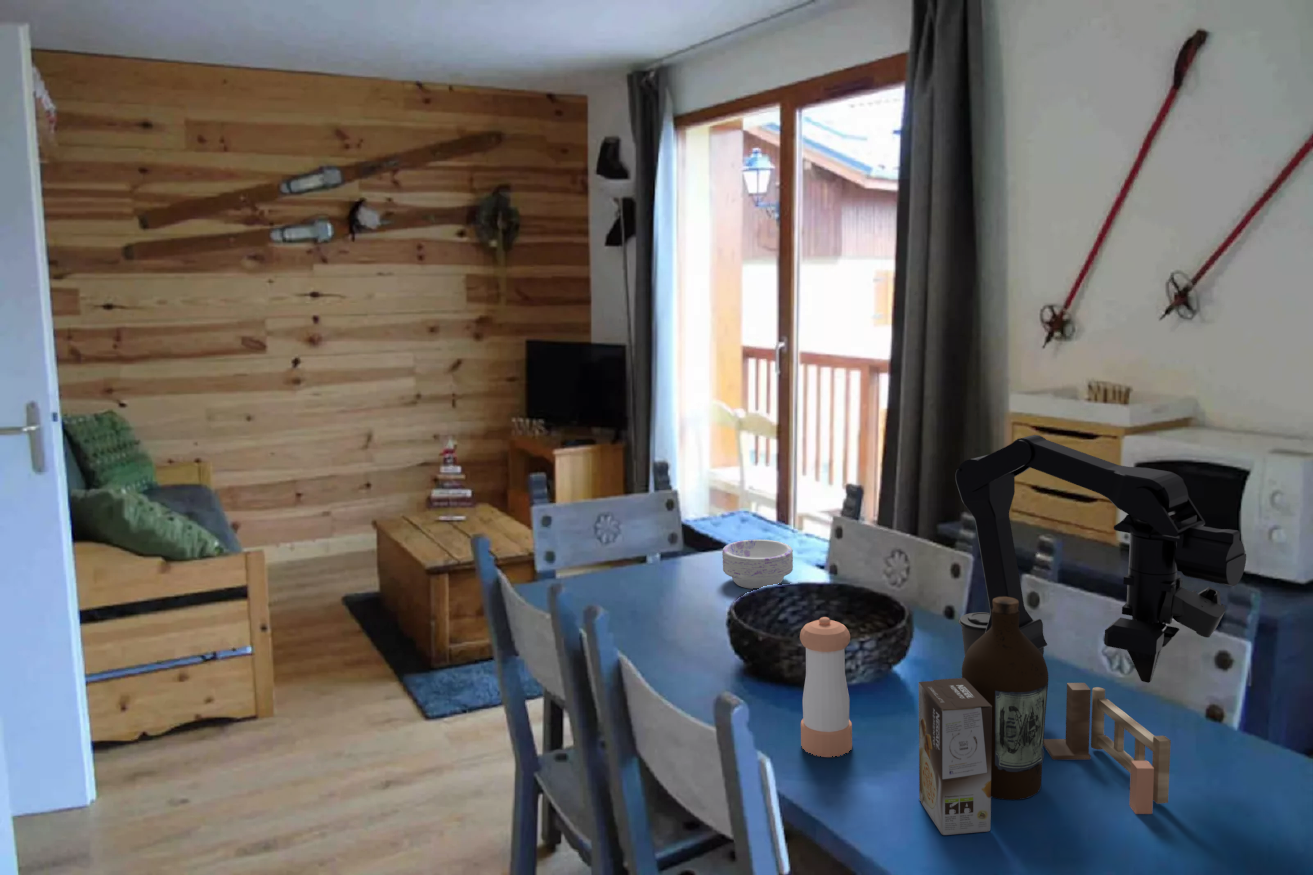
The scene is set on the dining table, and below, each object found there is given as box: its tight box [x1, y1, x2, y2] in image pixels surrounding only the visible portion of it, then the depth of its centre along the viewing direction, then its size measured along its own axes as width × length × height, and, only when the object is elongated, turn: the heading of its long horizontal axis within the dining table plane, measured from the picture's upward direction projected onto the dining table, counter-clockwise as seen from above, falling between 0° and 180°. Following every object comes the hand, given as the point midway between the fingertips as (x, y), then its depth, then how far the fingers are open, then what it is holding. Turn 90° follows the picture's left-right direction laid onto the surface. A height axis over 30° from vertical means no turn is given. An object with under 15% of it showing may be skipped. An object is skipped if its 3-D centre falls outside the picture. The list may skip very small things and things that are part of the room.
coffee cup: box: [958, 612, 990, 656], centre depth 172 cm, size 8×8×10 cm
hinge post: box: [1043, 682, 1092, 761], centre depth 144 cm, size 5×5×10 cm
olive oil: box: [961, 597, 1049, 801], centre depth 135 cm, size 11×11×25 cm
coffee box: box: [918, 677, 992, 836], centre depth 128 cm, size 9×6×16 cm
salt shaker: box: [799, 616, 853, 758], centre depth 148 cm, size 7×7×19 cm
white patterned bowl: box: [722, 539, 794, 590], centre depth 226 cm, size 15×15×8 cm
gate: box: [1090, 686, 1172, 805], centre depth 136 cm, size 17×2×8 cm, turn 5°
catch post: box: [1128, 760, 1154, 815], centre depth 128 cm, size 2×2×6 cm
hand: (1146, 681), depth 139 cm, fingers closed
